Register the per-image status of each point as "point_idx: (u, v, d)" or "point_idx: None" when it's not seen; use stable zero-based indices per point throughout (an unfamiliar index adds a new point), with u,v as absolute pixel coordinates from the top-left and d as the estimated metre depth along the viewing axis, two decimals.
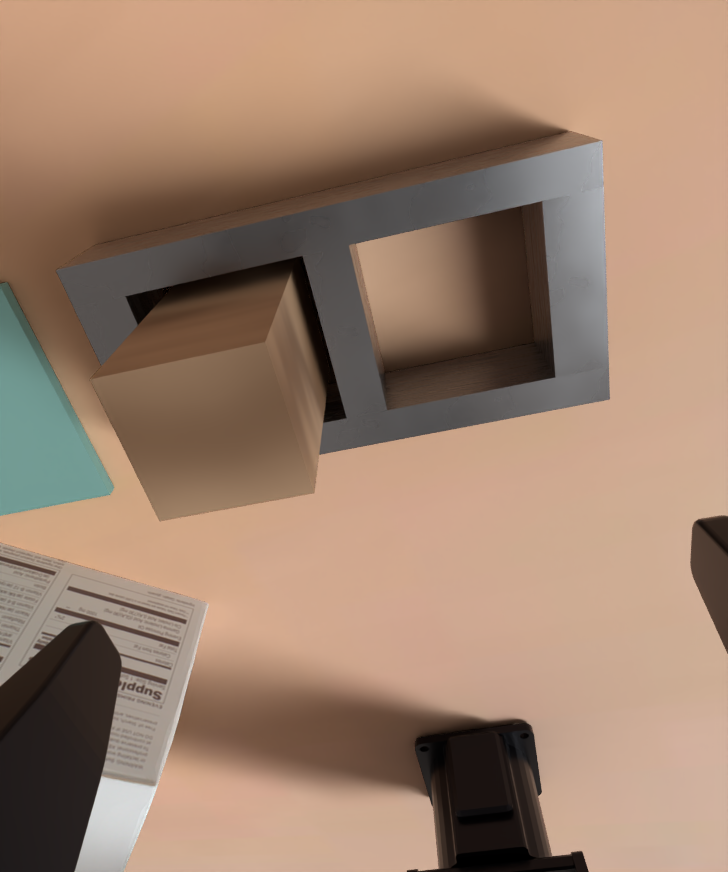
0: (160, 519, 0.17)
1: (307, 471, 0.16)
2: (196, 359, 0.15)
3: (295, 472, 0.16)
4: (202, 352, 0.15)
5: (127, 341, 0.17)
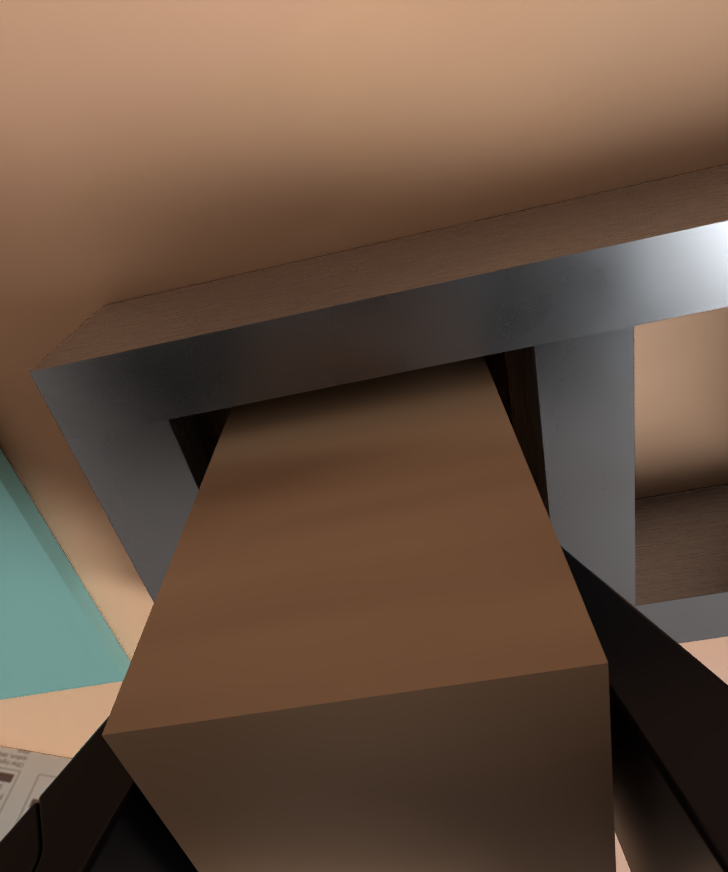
0: None
1: None
2: (399, 697, 0.05)
3: None
4: (415, 673, 0.05)
5: (183, 554, 0.08)
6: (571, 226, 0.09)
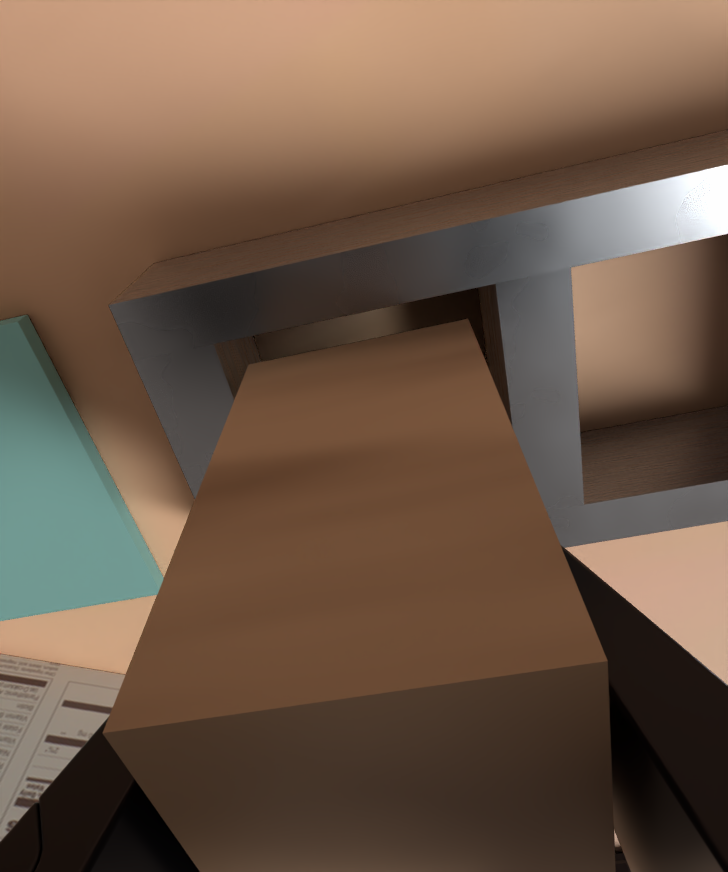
0: None
1: None
2: (399, 695, 0.05)
3: None
4: (415, 670, 0.05)
5: (183, 553, 0.08)
6: (525, 193, 0.12)
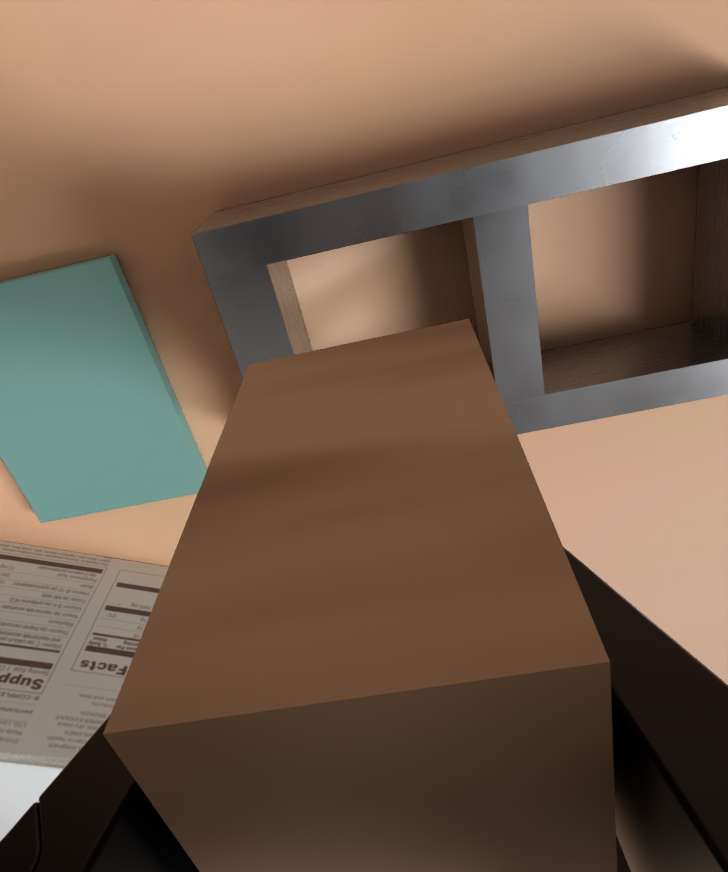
0: None
1: None
2: (400, 696, 0.05)
3: None
4: (416, 671, 0.05)
5: (184, 553, 0.08)
6: (495, 152, 0.17)
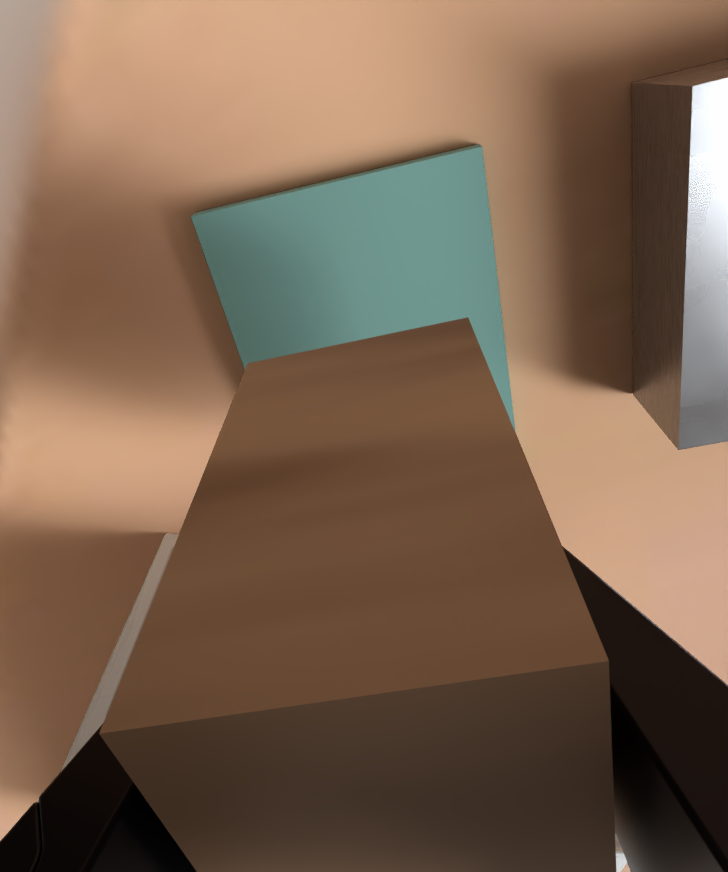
0: None
1: None
2: (398, 696, 0.05)
3: None
4: (413, 671, 0.05)
5: (181, 552, 0.08)
6: None
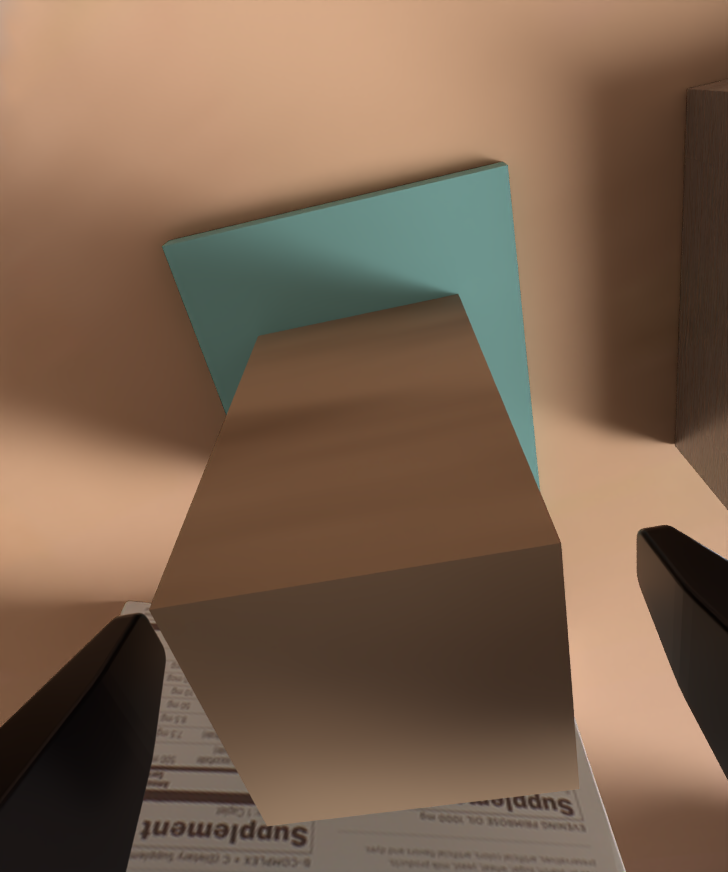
0: (269, 824, 0.09)
1: (576, 756, 0.08)
2: (392, 574, 0.06)
3: (554, 760, 0.08)
4: (404, 556, 0.07)
5: (208, 483, 0.09)
6: None
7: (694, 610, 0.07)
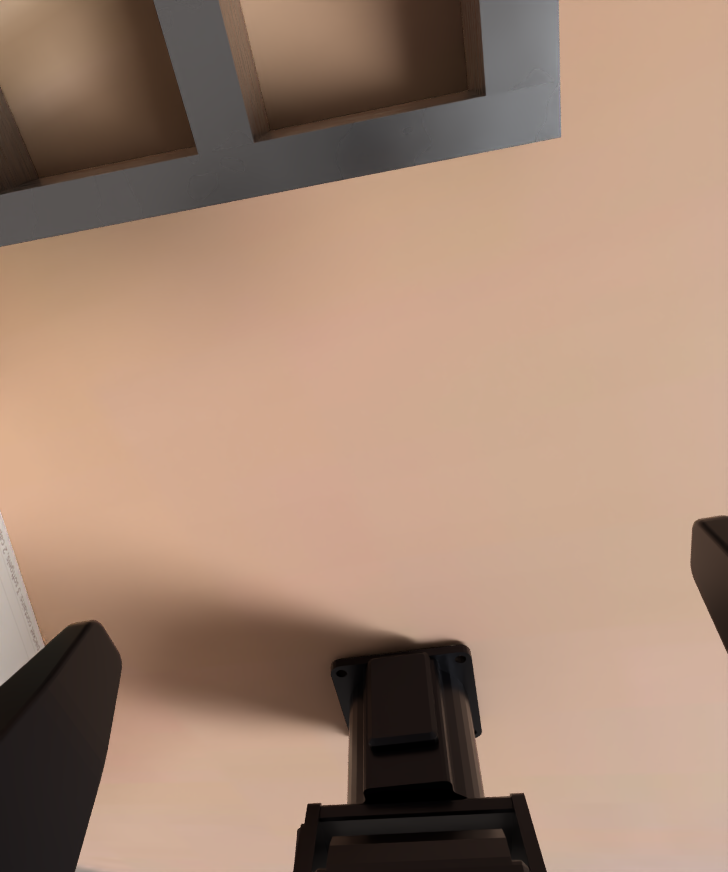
0: None
1: None
2: None
3: None
4: None
5: None
6: None
7: None
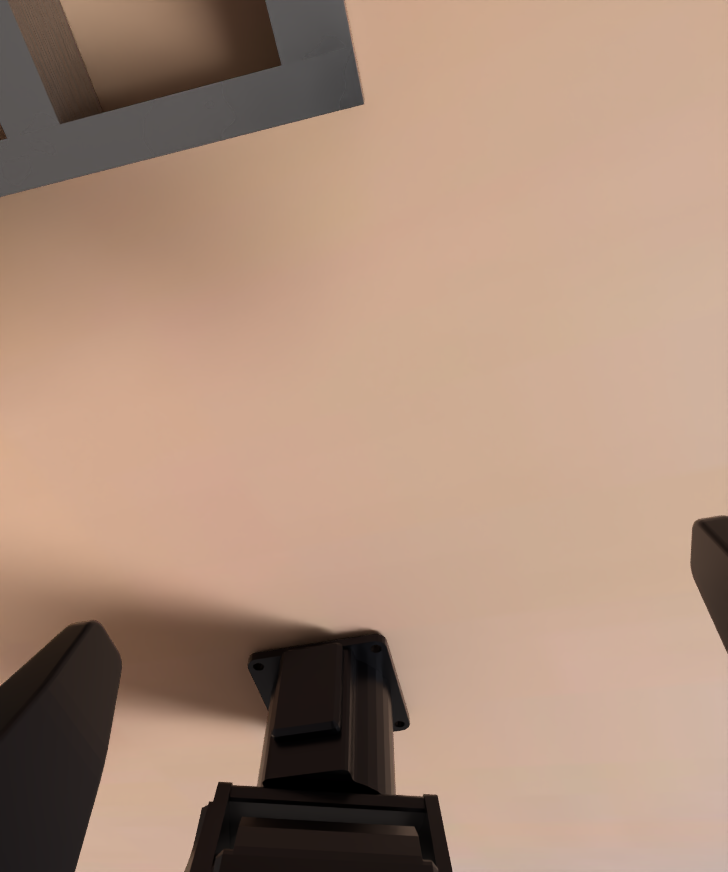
0: None
1: None
2: None
3: None
4: None
5: None
6: None
7: None
